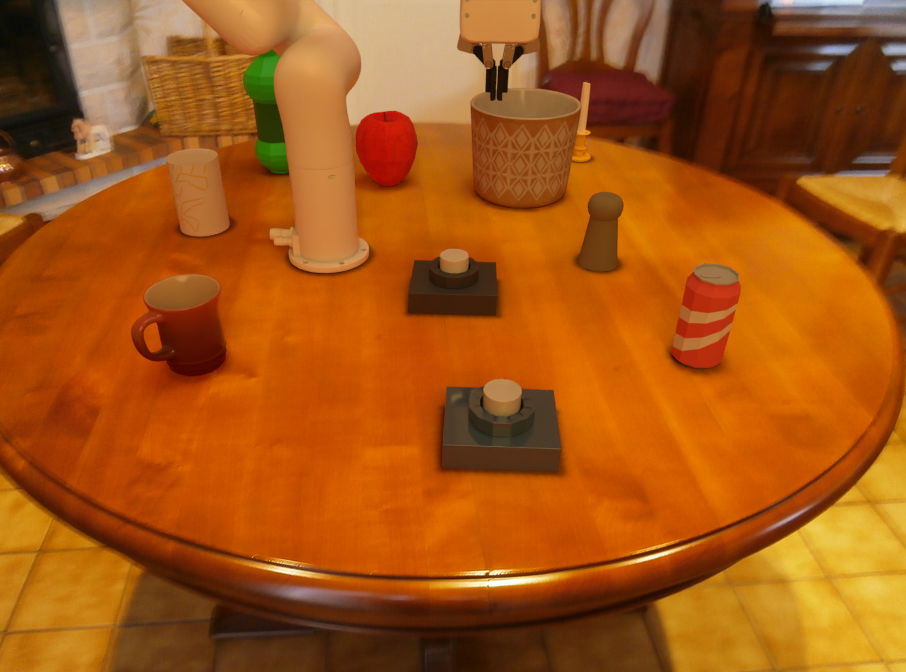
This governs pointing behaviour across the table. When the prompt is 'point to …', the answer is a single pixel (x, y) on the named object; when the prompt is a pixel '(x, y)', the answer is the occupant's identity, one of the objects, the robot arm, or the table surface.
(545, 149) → the planter
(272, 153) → the plastic bottle
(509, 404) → the beige push button
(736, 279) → the beverage can
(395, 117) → the apple
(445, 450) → the front button base
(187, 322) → the mug
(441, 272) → the dark brown button base
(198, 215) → the cup
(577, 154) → the candle
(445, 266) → the push button
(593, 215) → the pawn
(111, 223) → the table surface
